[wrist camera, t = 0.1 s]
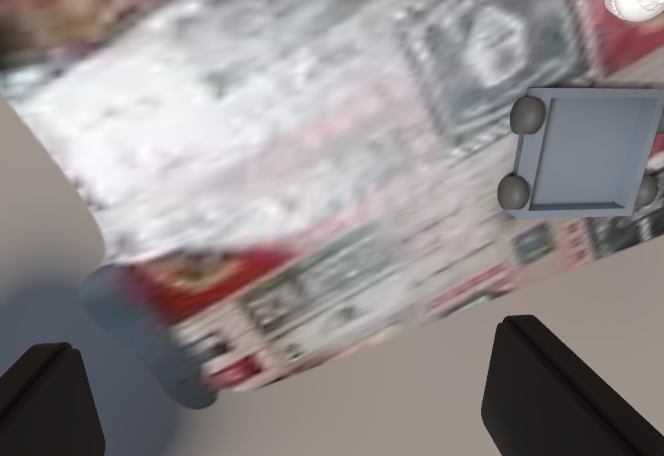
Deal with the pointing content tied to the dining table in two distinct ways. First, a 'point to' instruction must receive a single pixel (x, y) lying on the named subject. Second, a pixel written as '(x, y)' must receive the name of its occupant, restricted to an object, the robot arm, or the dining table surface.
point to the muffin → (635, 9)
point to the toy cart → (582, 152)
